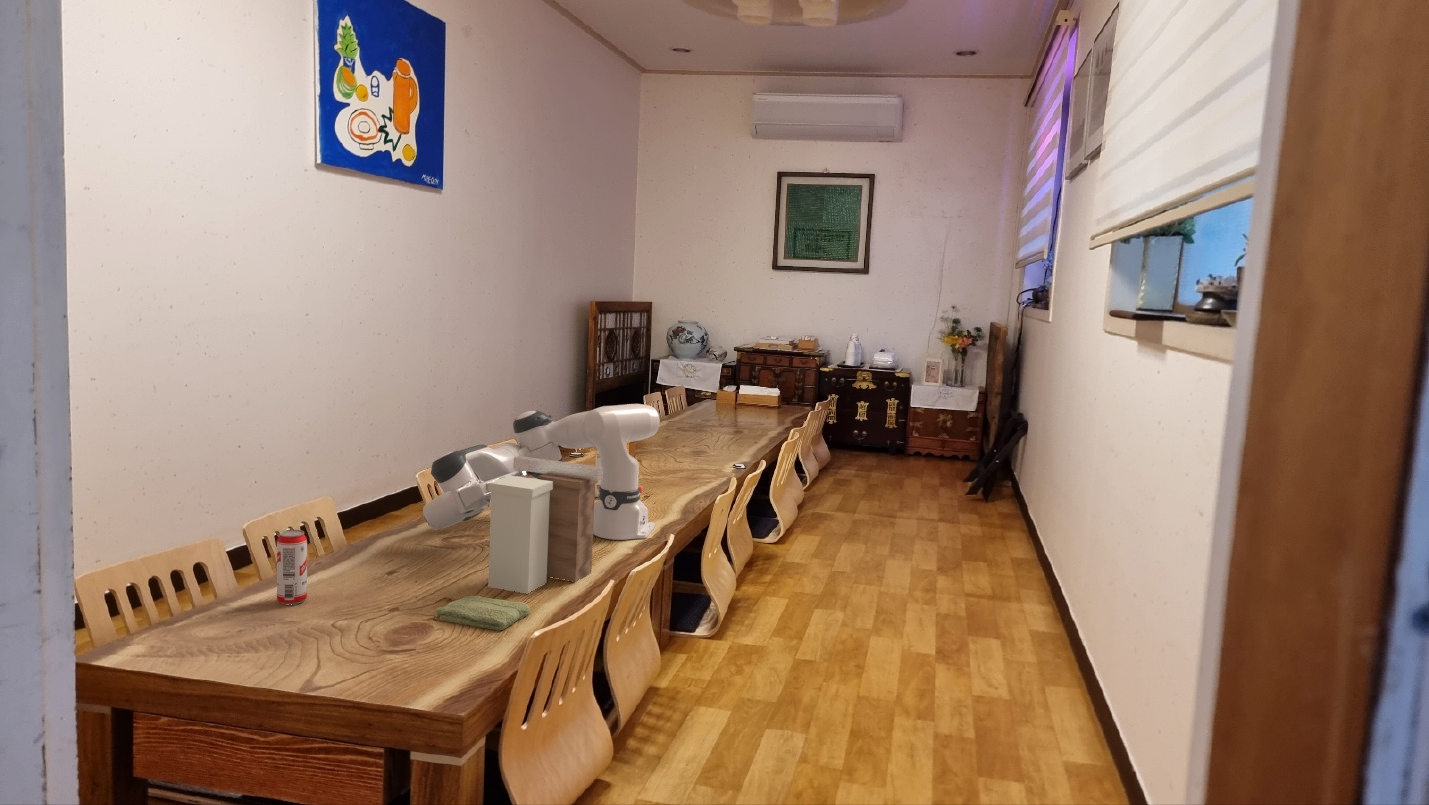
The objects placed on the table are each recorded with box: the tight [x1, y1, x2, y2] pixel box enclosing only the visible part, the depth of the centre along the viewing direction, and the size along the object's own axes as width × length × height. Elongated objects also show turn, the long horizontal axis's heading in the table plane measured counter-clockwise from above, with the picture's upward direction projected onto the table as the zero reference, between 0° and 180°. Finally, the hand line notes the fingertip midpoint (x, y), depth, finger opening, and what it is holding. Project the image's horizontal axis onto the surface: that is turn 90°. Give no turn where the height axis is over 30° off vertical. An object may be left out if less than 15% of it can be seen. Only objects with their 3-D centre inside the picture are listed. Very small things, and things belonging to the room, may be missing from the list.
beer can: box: [276, 529, 308, 606], centre depth 215 cm, size 6×6×16 cm
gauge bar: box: [513, 456, 603, 481], centre depth 244 cm, size 3×24×3 cm, turn 71°
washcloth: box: [435, 595, 531, 631], centre depth 214 cm, size 13×18×3 cm
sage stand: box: [487, 475, 553, 595], centre depth 234 cm, size 10×12×26 cm
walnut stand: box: [536, 474, 598, 583], centre depth 245 cm, size 10×12×26 cm
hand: (515, 476), depth 247 cm, fingers open, 8 cm apart
